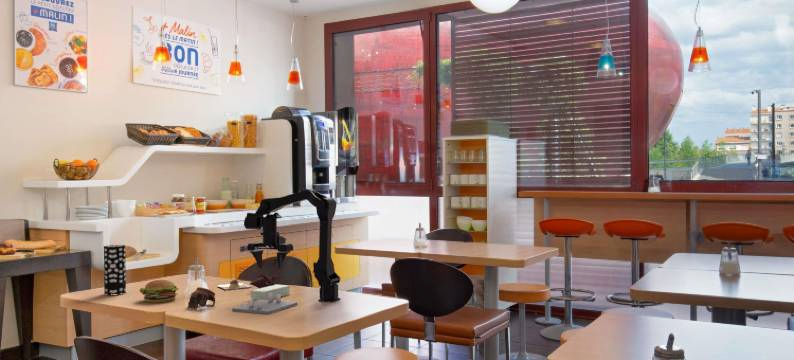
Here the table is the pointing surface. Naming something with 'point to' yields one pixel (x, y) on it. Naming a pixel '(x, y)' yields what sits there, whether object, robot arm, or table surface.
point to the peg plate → (265, 305)
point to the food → (159, 291)
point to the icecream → (264, 281)
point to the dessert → (234, 285)
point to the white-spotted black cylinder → (114, 269)
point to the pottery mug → (201, 298)
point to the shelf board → (269, 292)
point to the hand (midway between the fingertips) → (270, 268)
